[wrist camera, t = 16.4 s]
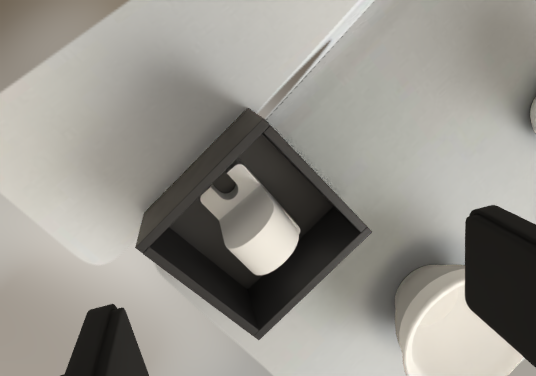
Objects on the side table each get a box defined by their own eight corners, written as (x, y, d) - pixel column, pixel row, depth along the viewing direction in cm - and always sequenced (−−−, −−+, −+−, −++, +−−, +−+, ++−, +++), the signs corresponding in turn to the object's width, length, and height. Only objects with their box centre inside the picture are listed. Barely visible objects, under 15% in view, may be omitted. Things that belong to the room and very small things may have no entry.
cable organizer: (237, 156, 38) (255, 186, 29) (297, 224, 42) (331, 270, 32) (196, 192, 38) (201, 233, 29) (260, 256, 42) (282, 311, 33)
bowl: (354, 348, 49) (387, 403, 41) (385, 232, 45) (428, 268, 37) (461, 348, 53) (510, 399, 45) (498, 241, 49) (560, 276, 41)
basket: (143, 213, 39) (134, 248, 31) (247, 107, 38) (263, 118, 30) (246, 294, 44) (259, 340, 37) (340, 203, 43) (372, 232, 36)
